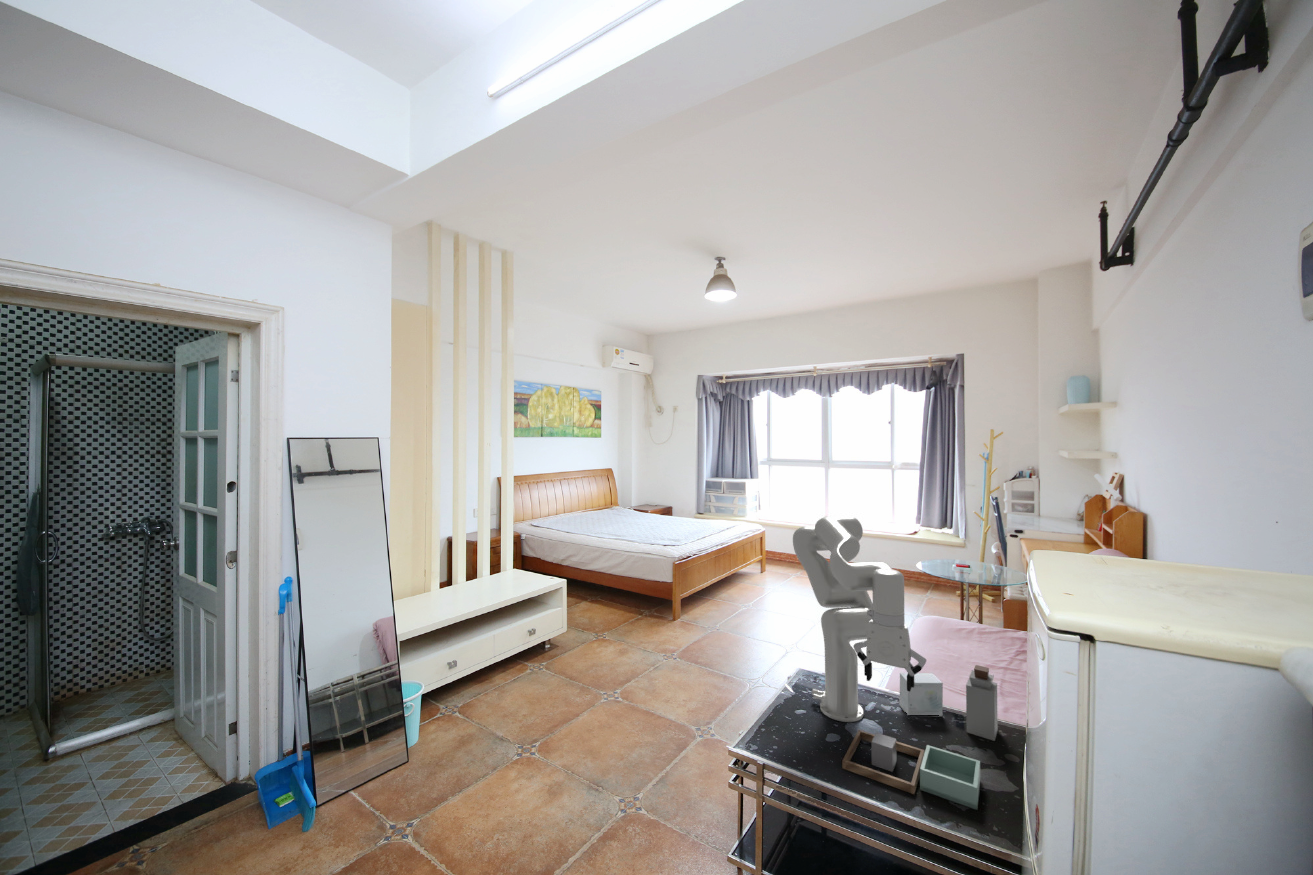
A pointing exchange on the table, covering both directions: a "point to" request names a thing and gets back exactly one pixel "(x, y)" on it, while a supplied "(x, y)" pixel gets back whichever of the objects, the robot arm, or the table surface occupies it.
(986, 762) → the table surface
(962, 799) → the sage green bin
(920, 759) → the brown wooden frame
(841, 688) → the robot arm
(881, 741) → the stone block
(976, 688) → the perfume bottle
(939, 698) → the skincare box
